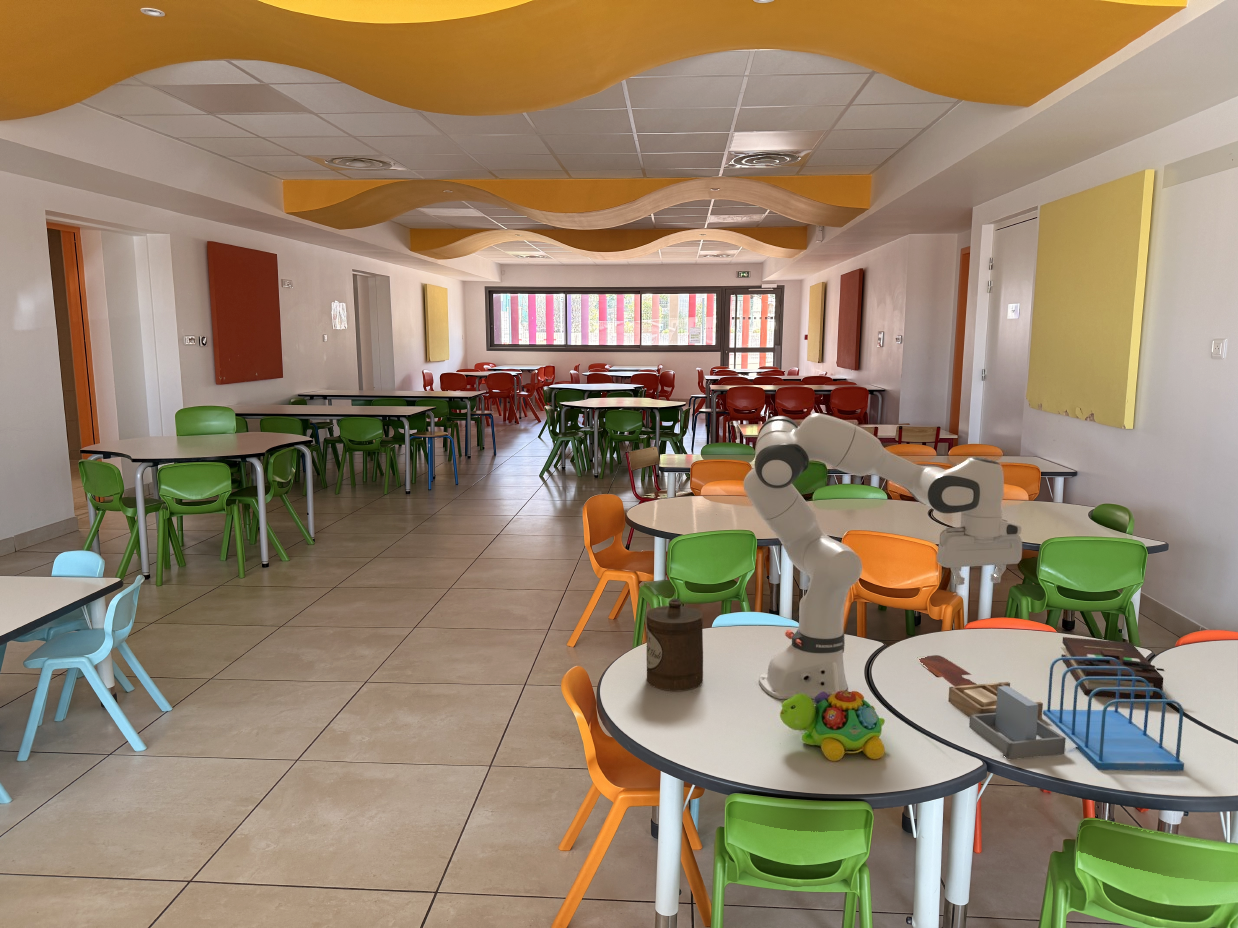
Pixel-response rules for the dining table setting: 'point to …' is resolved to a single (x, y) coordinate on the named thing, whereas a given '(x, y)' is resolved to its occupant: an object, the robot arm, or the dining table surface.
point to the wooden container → (674, 647)
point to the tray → (1019, 749)
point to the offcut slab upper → (981, 697)
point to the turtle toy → (836, 723)
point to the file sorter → (1114, 726)
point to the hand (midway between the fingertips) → (977, 583)
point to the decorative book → (1120, 652)
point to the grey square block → (1015, 715)
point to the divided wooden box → (970, 706)
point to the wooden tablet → (946, 670)
